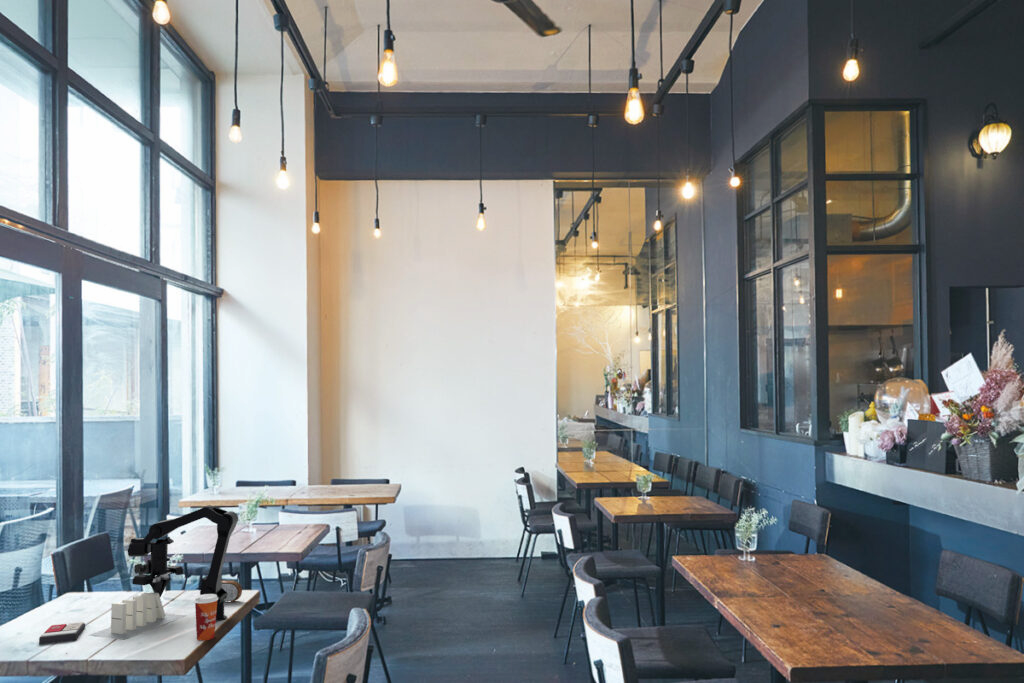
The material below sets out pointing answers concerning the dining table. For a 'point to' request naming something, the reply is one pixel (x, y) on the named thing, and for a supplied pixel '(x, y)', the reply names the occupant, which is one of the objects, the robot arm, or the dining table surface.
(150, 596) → the domino
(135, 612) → the domino
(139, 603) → the domino
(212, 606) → the paper cup
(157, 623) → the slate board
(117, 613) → the domino
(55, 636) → the black and red box
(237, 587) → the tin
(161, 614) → the domino
